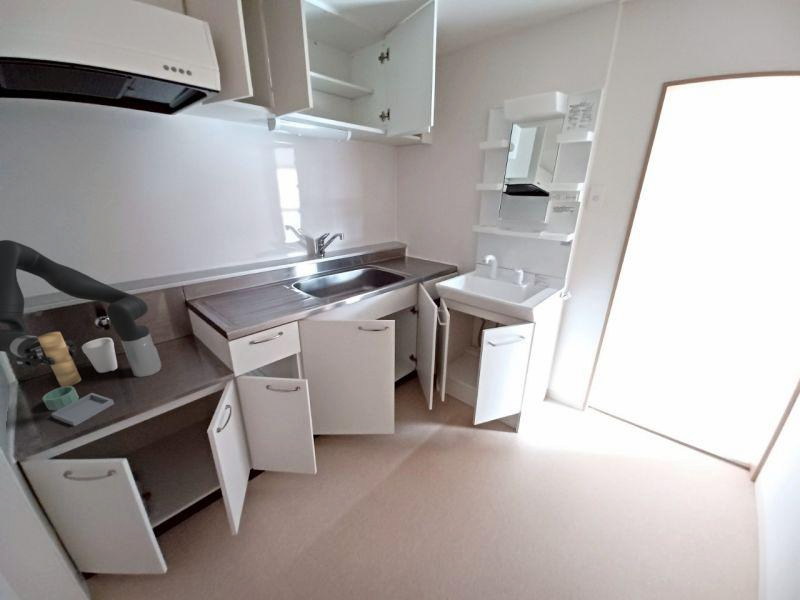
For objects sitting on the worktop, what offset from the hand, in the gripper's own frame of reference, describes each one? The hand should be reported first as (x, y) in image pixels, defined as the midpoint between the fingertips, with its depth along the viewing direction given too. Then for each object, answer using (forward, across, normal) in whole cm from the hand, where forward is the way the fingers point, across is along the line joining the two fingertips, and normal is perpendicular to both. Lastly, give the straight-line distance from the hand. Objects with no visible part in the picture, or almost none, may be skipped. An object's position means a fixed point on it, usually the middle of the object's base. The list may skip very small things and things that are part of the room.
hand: (63, 357), depth 100 cm
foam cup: (-24, +20, +24) cm, 39 cm away
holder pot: (-14, 0, +23) cm, 27 cm away
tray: (-2, 0, +23) cm, 23 cm away
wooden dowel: (-3, 0, +10) cm, 11 cm away
